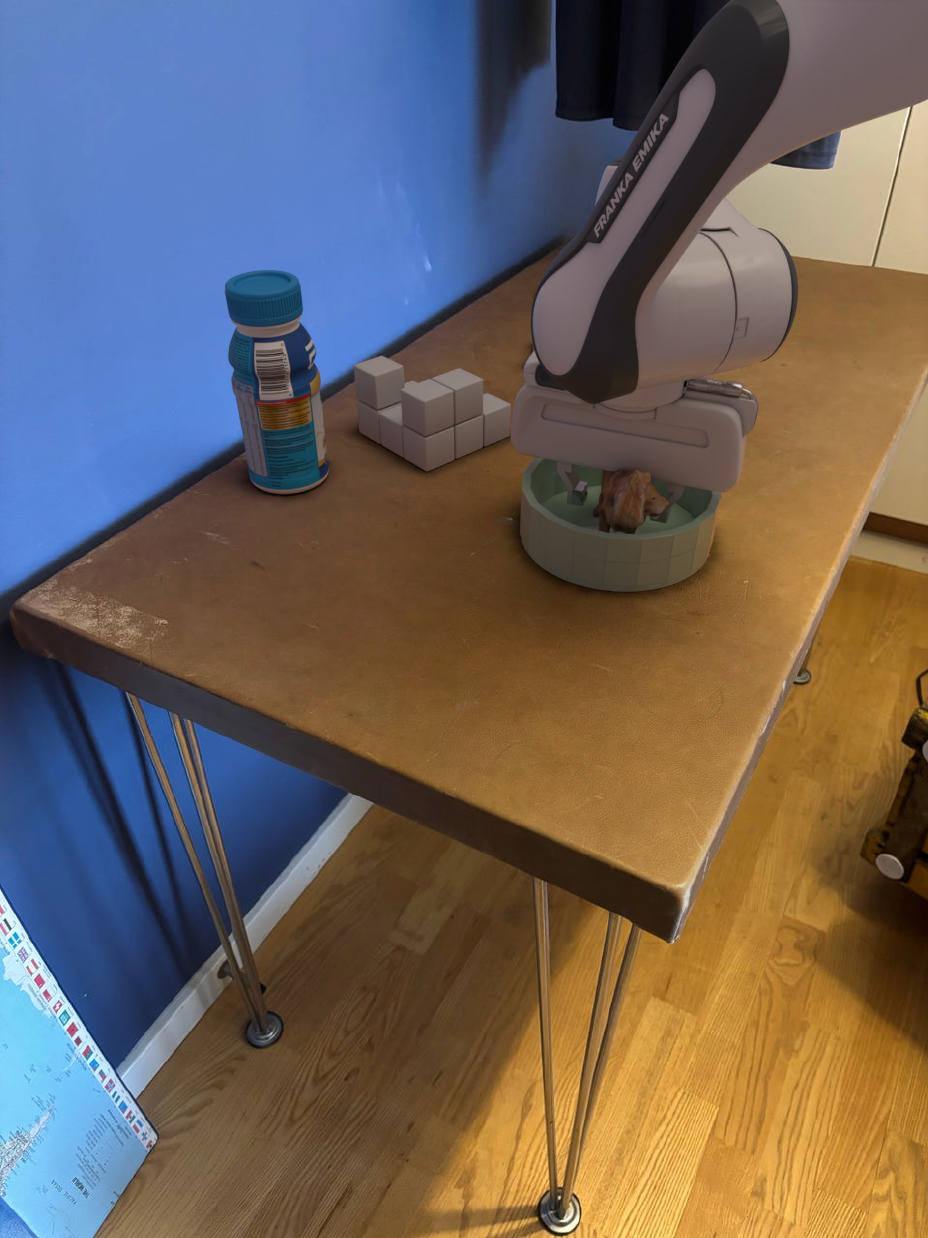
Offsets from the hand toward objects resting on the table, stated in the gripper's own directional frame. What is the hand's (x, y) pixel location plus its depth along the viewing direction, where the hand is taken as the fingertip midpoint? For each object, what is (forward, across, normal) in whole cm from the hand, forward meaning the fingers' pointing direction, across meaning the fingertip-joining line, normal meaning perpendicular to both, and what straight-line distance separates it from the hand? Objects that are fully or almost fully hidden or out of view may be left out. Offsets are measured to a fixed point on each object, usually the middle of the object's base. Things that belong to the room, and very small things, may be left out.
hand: (617, 510), depth 83 cm
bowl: (+3, 0, 0) cm, 3 cm away
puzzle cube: (+3, +24, -12) cm, 27 cm away
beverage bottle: (+3, +34, +2) cm, 34 cm away
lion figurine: (+2, -1, 0) cm, 2 cm away
